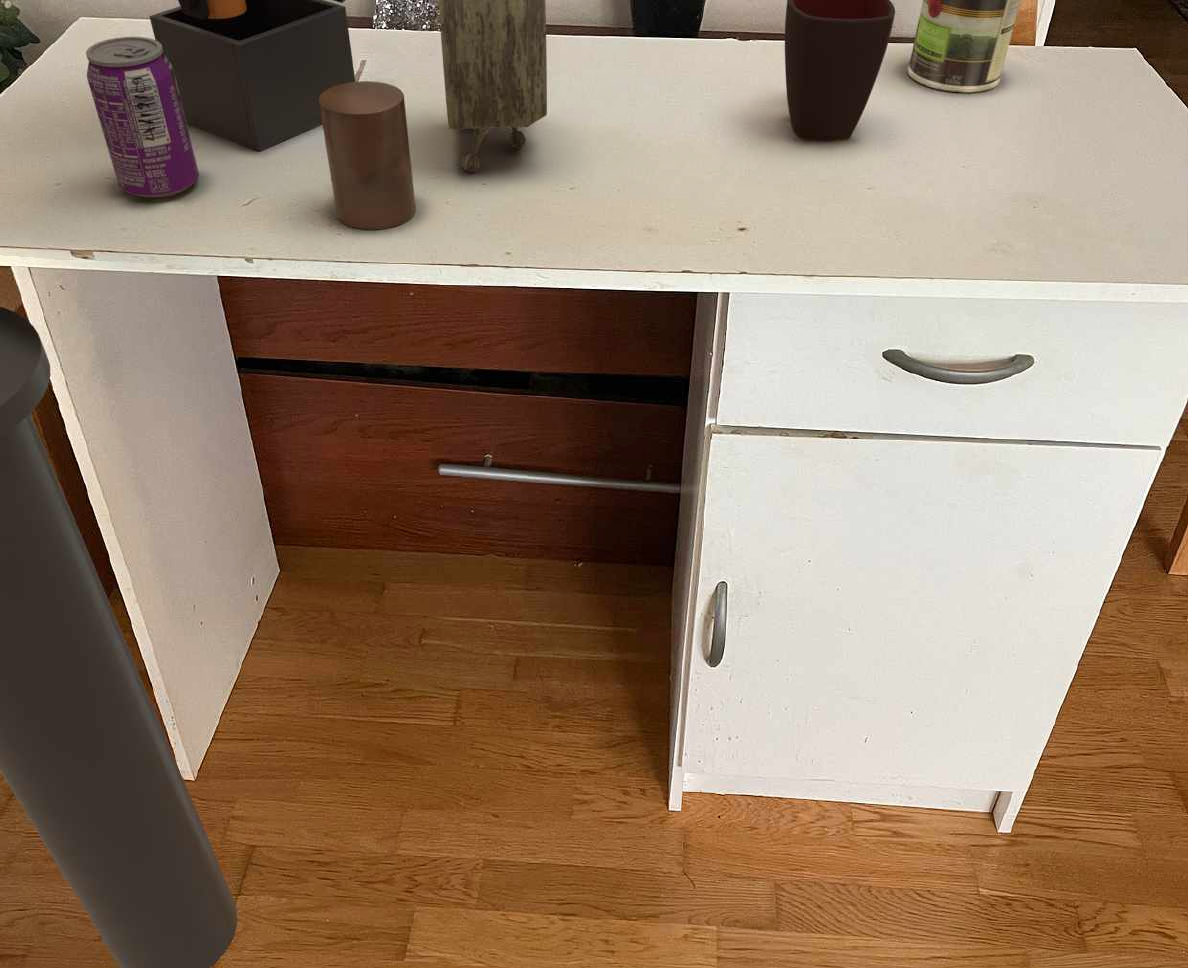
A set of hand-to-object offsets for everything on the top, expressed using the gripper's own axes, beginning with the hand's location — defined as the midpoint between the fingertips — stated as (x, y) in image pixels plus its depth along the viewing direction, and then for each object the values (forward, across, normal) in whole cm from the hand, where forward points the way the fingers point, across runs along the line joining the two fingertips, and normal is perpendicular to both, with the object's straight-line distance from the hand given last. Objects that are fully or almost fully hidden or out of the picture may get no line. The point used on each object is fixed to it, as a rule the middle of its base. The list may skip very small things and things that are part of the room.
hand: (220, 5), depth 105 cm
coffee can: (+11, -57, +52) cm, 78 cm away
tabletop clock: (+11, -11, +24) cm, 29 cm away
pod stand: (+11, +6, +24) cm, 27 cm away
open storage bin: (+11, -3, 0) cm, 11 cm away
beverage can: (+11, +14, +5) cm, 19 cm away
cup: (+11, -36, +46) cm, 60 cm away
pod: (0, 0, 0) cm, 0 cm away
